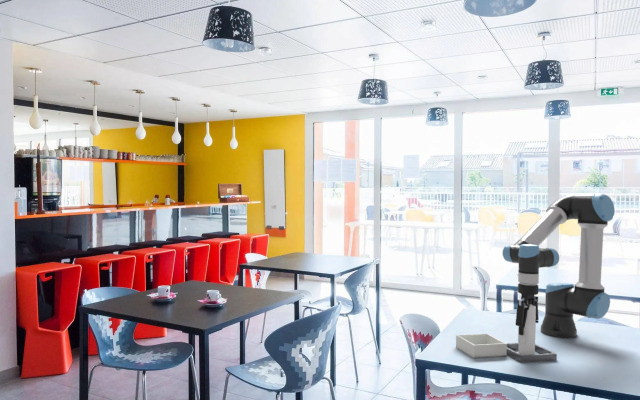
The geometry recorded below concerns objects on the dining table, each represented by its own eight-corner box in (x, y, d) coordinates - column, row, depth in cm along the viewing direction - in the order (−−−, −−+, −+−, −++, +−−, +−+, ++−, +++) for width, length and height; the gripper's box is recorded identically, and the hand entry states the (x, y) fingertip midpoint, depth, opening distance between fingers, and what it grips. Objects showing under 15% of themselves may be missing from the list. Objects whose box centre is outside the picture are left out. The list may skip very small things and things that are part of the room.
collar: (531, 348, 209) (531, 342, 209) (556, 360, 194) (556, 353, 194) (497, 349, 206) (497, 343, 206) (520, 362, 191) (521, 355, 191)
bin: (486, 345, 212) (487, 333, 212) (506, 356, 198) (506, 343, 198) (455, 347, 209) (456, 335, 209) (473, 358, 195) (473, 345, 195)
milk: (518, 355, 199) (519, 299, 198) (518, 350, 204) (519, 296, 204) (535, 357, 196) (535, 300, 196) (535, 352, 202) (535, 297, 201)
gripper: (530, 279, 210) (529, 334, 210) (506, 285, 195) (505, 343, 196) (548, 282, 204) (547, 338, 204) (525, 288, 190) (524, 348, 190)
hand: (526, 340), depth 200 cm, fingers closed on milk, 8 cm apart
